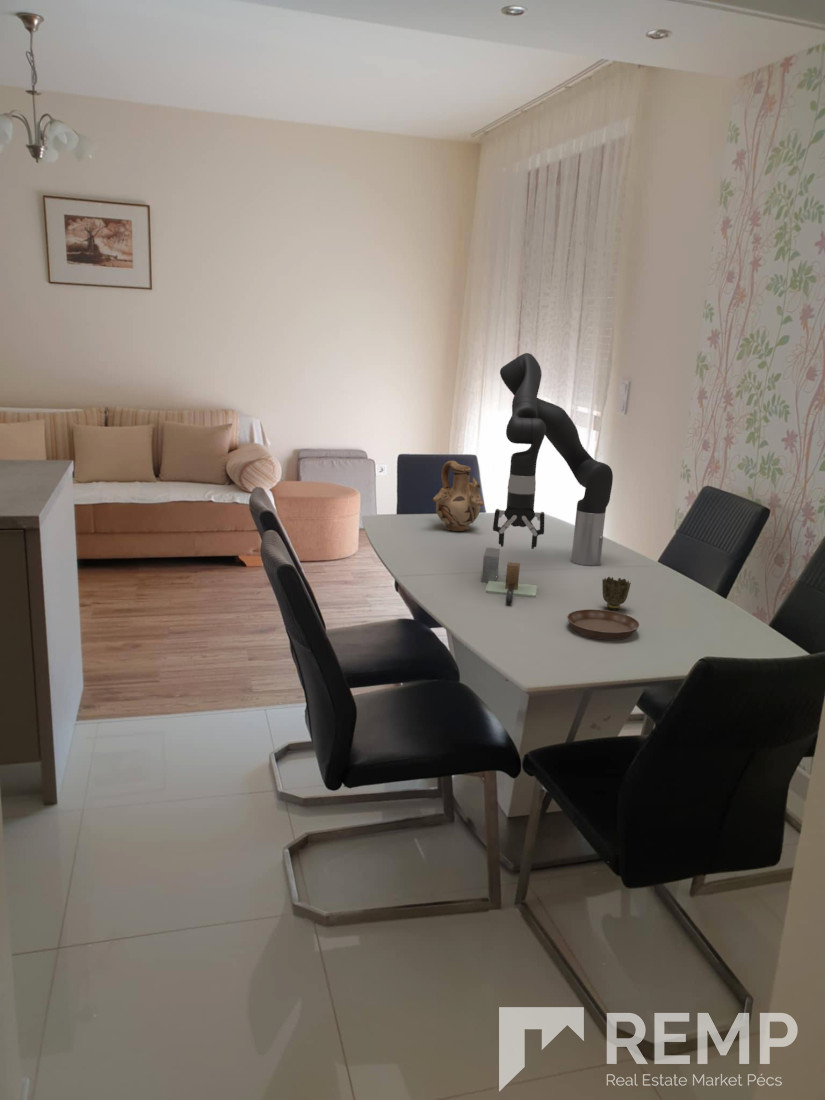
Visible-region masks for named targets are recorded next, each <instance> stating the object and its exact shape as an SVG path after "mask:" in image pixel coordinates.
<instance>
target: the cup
mask: <svg viewBox="0 0 825 1100" xmlns="http://www.w3.org/2000/svg"><path fill="white" fill-rule="evenodd" d="M601 582H602V584H601V585H602V588H601V589H602V597H603V600H604V602H605V603H606V608H607V609H608V610H610V611H617V610H620V609H621V605H622V604H624V603H625V602H626V600H627V599H628V596H629V592H630V588H631V582H630V581H629V580H628V581H627V579H625V578H621V577H619V578H617V579H615V578H614V577H613V576H612V577H611V576H608V577H604V578H602V581H601Z"/></svg>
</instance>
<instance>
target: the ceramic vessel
mask: <svg viewBox="0 0 825 1100" xmlns="http://www.w3.org/2000/svg"><path fill="white" fill-rule="evenodd" d="M471 470H472V468H471V467H470V466H469V465H464V464H460V463H458V462H457V461H455V460H448V461H446V462H445V463H444V464H443V466H442V468H441V483H442V487H441V488H440V490H439V492H438V493H436V494H435V496H434V497H433V498H432V501H433V502H435V512H436V514H437V517H438V518H439V519H440V520H441V522H444V524H445V526H446V527H445V529H446V528H447V529H449V530H448V531H450V530H453V531H452V532H462V531H463V532H464V531H468V530H469V526H470V524H473V523H474V522H475V521H476V520H477V518H478V516H479V514H480V512H481V507H482V506H484V501H483V500H482V496H481V494H480V488H481V485H480V483H479V482H477V481H476V479H475V477H474V476H473V477H472V482H470V478H471ZM450 471H452V474H453V481H452V486H451V485H450V478H449V475H450V474H449V473H450ZM447 529H446V530H447Z"/></svg>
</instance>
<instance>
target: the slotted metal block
mask: <svg viewBox="0 0 825 1100" xmlns="http://www.w3.org/2000/svg"><path fill="white" fill-rule="evenodd" d="M500 550H501V549H500V548H495V547H494V548H493V547H486V549H485V552H484V553H483V560H482V561H483V562H482V571H481V572H482V573H481V582H482V583H487V584H488V581H496V582H497V577H498V574H499V565H500V564H499V562H500V561H499V560H500ZM496 576H497V577H496Z"/></svg>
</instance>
